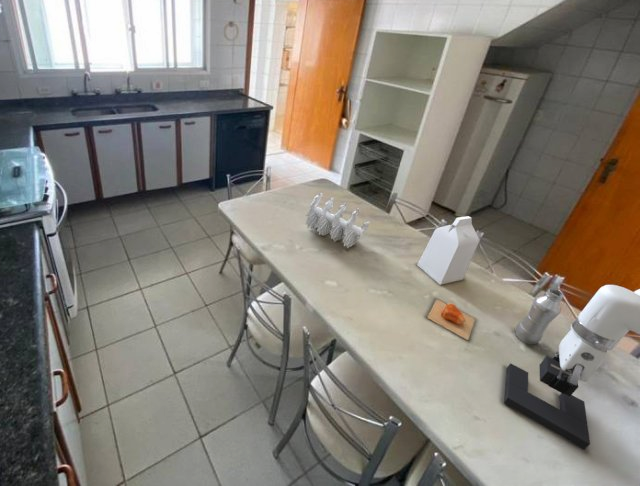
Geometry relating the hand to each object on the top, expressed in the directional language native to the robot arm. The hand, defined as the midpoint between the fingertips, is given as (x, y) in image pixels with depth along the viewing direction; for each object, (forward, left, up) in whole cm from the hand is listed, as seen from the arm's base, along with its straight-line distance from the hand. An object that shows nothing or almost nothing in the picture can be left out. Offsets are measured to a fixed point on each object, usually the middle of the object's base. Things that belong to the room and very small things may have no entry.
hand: (555, 378), depth 85 cm
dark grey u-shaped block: (0, +3, -8) cm, 8 cm away
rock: (+24, -13, -8) cm, 28 cm away
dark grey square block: (0, 0, -1) cm, 1 cm away
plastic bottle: (+4, -21, -8) cm, 23 cm away
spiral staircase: (+75, -28, -8) cm, 80 cm away
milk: (+32, -37, -8) cm, 50 cm away
